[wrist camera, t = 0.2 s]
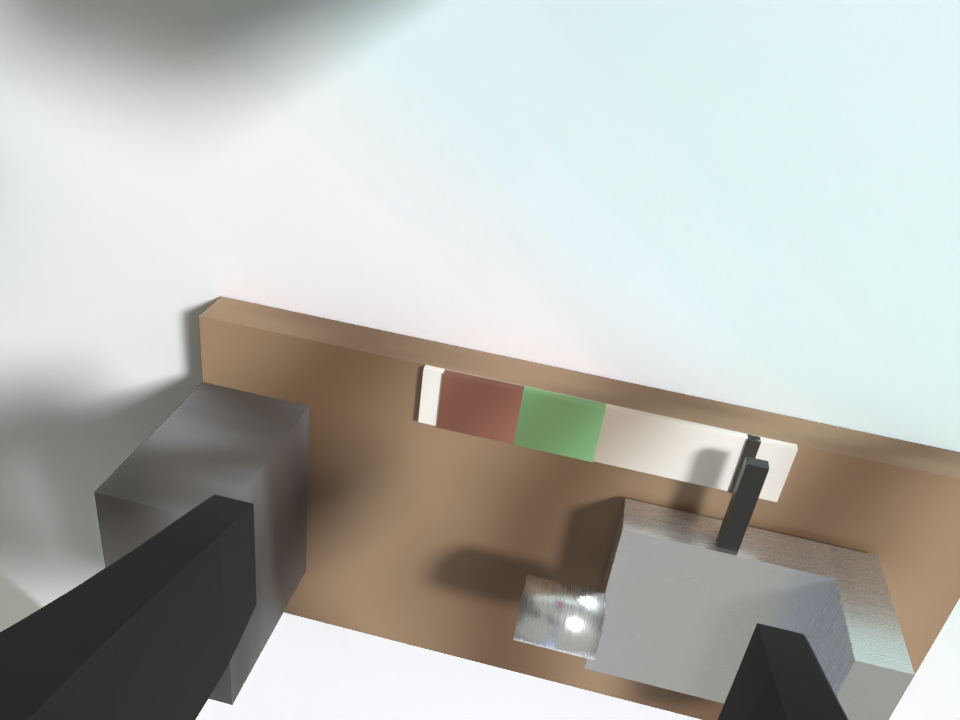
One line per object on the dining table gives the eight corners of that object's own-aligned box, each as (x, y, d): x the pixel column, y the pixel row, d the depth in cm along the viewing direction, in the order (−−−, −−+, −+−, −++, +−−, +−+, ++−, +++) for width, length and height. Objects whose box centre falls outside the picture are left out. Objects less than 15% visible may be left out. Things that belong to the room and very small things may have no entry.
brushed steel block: (918, 475, 19) (965, 588, 16) (811, 690, 23) (833, 814, 20) (564, 399, 20) (543, 491, 17) (518, 617, 24) (495, 725, 21)
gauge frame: (1003, 461, 20) (1117, 659, 15) (856, 725, 25) (903, 940, 20) (221, 296, 22) (82, 416, 17) (232, 568, 27) (129, 724, 22)
